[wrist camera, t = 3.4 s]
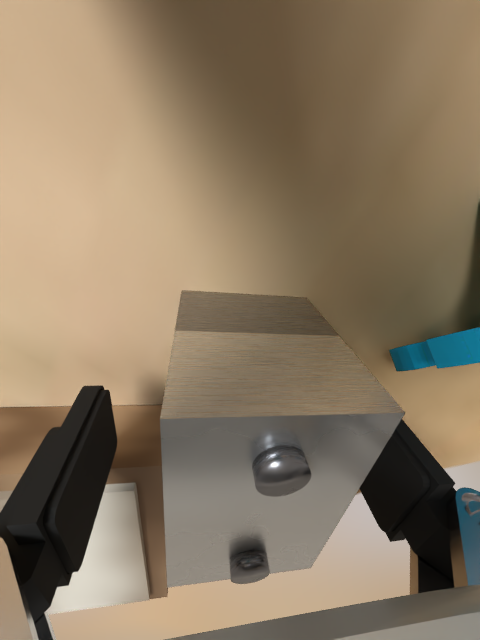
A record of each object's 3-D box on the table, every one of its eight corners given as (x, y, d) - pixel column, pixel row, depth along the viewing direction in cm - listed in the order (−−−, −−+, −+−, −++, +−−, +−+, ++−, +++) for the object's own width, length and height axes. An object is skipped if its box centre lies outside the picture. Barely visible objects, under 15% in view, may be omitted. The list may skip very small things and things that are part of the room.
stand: (169, 405, 12) (160, 473, 10) (171, 539, 19) (166, 603, 16) (-201, 410, 10) (-363, 505, 7) (-51, 562, 17) (-102, 642, 14)
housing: (305, 296, 11) (419, 429, 5) (271, 426, 14) (314, 583, 9) (181, 289, 10) (156, 438, 4) (180, 429, 14) (165, 605, 8)
